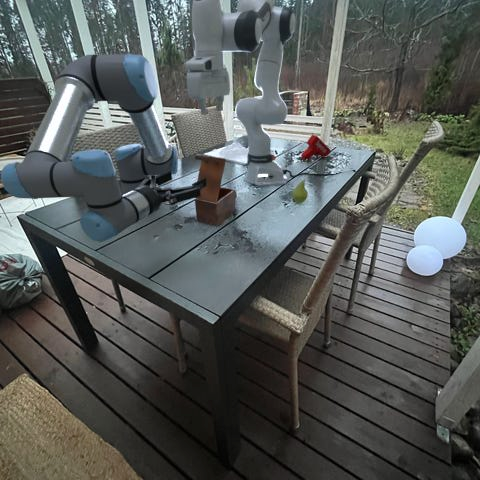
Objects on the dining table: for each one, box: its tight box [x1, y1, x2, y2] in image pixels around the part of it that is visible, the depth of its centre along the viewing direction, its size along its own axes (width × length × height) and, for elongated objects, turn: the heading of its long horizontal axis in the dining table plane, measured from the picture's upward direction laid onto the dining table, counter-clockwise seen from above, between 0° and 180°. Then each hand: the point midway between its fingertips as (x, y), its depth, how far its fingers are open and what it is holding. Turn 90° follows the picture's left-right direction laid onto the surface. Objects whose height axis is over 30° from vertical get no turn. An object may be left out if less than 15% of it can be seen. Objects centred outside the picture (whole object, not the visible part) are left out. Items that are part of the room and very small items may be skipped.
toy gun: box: [300, 134, 332, 162], centre depth 175 cm, size 18×4×15 cm
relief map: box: [203, 141, 249, 166], centre depth 184 cm, size 27×35×5 cm
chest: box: [194, 186, 237, 226], centre depth 109 cm, size 15×10×9 cm, turn 153°
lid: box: [194, 153, 227, 203], centre depth 96 cm, size 16×10×8 cm
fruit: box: [291, 175, 311, 204], centre depth 118 cm, size 7×8×12 cm
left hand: (187, 178), depth 88 cm, fingers open, 13 cm apart
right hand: (212, 112), depth 91 cm, fingers open, 8 cm apart
